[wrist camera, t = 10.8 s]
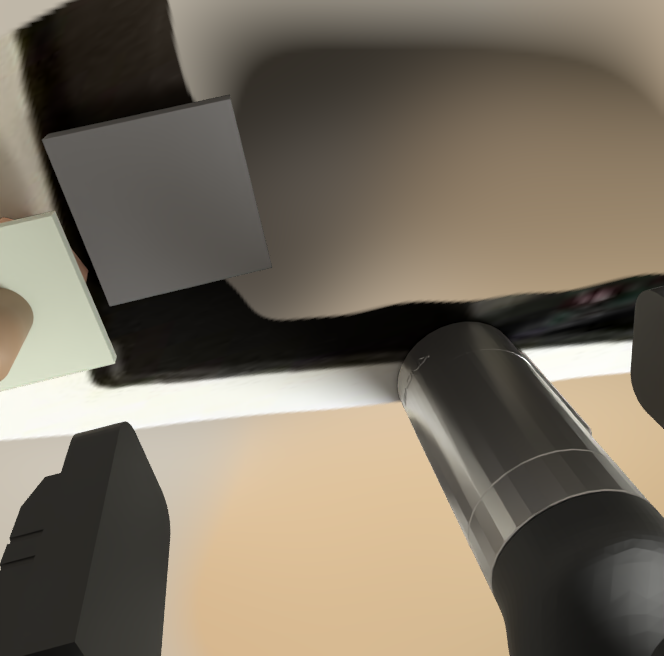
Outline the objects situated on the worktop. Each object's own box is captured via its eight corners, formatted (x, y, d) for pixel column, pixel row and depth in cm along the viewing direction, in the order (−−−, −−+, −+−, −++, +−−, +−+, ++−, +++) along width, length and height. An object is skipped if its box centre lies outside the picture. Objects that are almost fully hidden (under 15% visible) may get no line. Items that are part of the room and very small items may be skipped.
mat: (229, 94, 34) (230, 98, 33) (269, 258, 39) (272, 267, 38) (47, 133, 33) (41, 139, 32) (112, 295, 38) (109, 306, 37)
